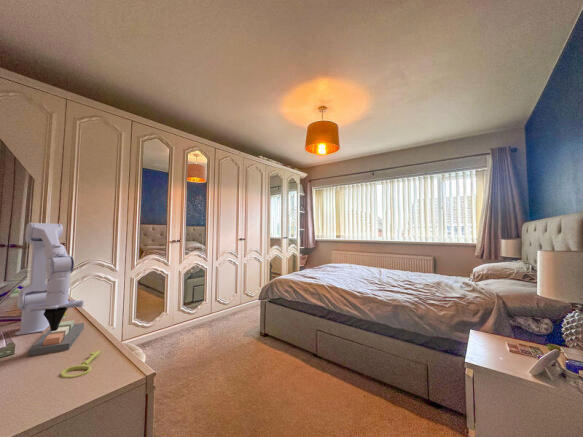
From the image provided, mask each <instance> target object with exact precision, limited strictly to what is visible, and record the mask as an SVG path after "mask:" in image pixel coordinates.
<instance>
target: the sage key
mask: <svg viewBox="0 0 583 437" xmlns="http://www.w3.org/2000/svg"><path fill="white" fill-rule="evenodd" d="M74 324H75V320H69V321H68V320H67V321H66V320H65V321H60V324H59V327H58V328H60V327H67V326H69V330H70V329H72V328H73V327H74Z"/></svg>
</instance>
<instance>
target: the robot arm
mask: <svg viewBox="0 0 583 437" xmlns="http://www.w3.org/2000/svg"><path fill="white" fill-rule="evenodd" d="M63 233H64V227H63V224H62V223H59V222H58V223H52V222H51V223H49V222H48V223H45V222H44V223H43V222H42V223H41V222H29V223H27V224H26V227H25V235H24V236H25V237H24V240H25V243H28V244H30V245H31V249H32V250H31V259H30V260H31V261H30V263H31V265H30V273H29V274H30V275H29V276H30V277H29V284H27V285H25V286H24V287H22V288H21V289H20V290H18V296H17V298H16V308H17V309H18V310H20V311H21V319H20V328H19V329H20V330H18V331H16V332H15V334H14V336H18V335H19V336H20V335H25V334H26V335H27V334H33V333H41V332H44V331H45V330H46V329H47V328H49V329H51V331H56V330H57V329H58V327H59V324H60V323H61V322H62V320H63V319H62V317H63V315H64V314H65V312H66V313H67V311H68V309H70V308H71V309H72V308H83V307H84V306H85V300H69V294H70V283H71V282H70V280H71V273H72V272H73V271H74V269H75V260H74V256H72V255H69V254H68V251H67V249H66V247H65V245H64V244H61V243H60V238H61V237H63Z"/></svg>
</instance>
